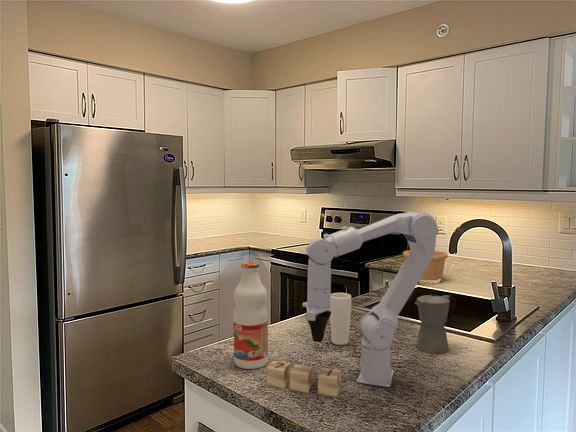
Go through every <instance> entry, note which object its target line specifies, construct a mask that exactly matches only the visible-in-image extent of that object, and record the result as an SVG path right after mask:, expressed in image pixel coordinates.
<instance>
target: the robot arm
mask: <svg viewBox="0 0 576 432" xmlns="http://www.w3.org/2000/svg"><path fill="white" fill-rule="evenodd" d="M392 233H395V234H396V233H397V234H403V237H405V239H406V241H407V243H408V247H409V250H411V252H410V254H409V256H408V257H407V259H406V260H405V261H404V262H403V263H402V266H401V267H400V269H399V270H398V272H397V274H396V275H395V277H394V279H393V280H392V282H391V283H390V285H389V287H388V289H387V290H386V292H385V294H384V295H383V296H382V298H381V299H380V302H378V303H377V304H376V305H374V306H372V308H371V309H370V311H369V312H368V313H366V314H365V315H364V316H362V317H361V318H360V321H359V325H358V326H359V330H360V333H362V335H363V336H362V339H361V346H360V349H361V351H360V352H361V354H360V355H361V356H360V357H361V358H360V361H361V362H360V363H361V364H360V373H359V375H358V377H357V381H356V382H357V383H358V384H359V383H360V384H365V385H371V386H379V387H385V388H390V387H391V384H392V380H393V375H394V369H391V345H392V343H393V341H394V339H395V331H396V330H397V328H398V327H399V326H398V324H399V323H398V321H399V319H398V317H399V314H400V312H401V311H402V309H403V308H404V307H405V304H406V303H407V301H408V300H409V298H410V296H411V294H412V293H413V291H414V290H415V288H416V287H417V285H418V284H419V283H418V282H419V280H420V278H421V277H422V275H423V273H424V272H425V270H426V268H427V267H428V265H429V264H430V262H431V260H432V259H433V257H434V255H435V251H436V245H437V244H436V242H437V235H438V234H439V226H438V224H437V221H436V219H435V218H434V217H433V215H431V214H430V213H426V212H418V211H417V212H416V211H414V210H409V211H405V212H403V213H397V214H394V215H391V216H388V217H385V218H383V219H381V220H379V221H376V222H373V223H371V224H368V225H365V226H364V227H362V228H359V229H357V228H355V227H353V226H350V227H348V226H346V225H345V226H342V227H341V230H338V231H336V232H333V233H331V234H330V233H329V234H328V233H325V234H323V238H322V237H316V238H313V239H310V241H309V242H308V245H307V248H305V250H306V254H307V256H308V257H309V258H308V267H307V292H306V293H307V294H306V295H307V300H306V301H305V302H302V307H303V308H304V307H305V308H306V312H305V319H306V321H307V322H308V325H309V328H310V331H311V332H310V333H311V337H312V341H313V342H314V343H315V342H316V343H322V342H323V340H324V336H325V333H326V328H327V324H328V321H329V320H330V315H331V311H330V309H331V304H330V298H331V294H332V292H331V290H332V288H331V285H332V269H331V266H332V265H331V264H332V260H333V258H337V257H340V256H342V255H343V256H344V255H345V254H348V253H351V252H353V251H356V250H359V249H360V248H361V247H362V244H363V243H364V242H367V241H371V240H373V239H377V238H379V237H383V236H386V235H389V234H392Z"/></svg>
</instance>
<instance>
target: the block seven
mask: <svg viewBox="0 0 576 432" xmlns="http://www.w3.org/2000/svg"><path fill="white" fill-rule="evenodd" d="M290 371H291V363H289V362H283V361H282V362H281V361H276V360H273V361H272V362H271V363H270V364H269V365H268V366H267V367H266V386H268V387H272V388H273V387H275V388H278V389H285V388H286V386H287V385H288V384H290Z"/></svg>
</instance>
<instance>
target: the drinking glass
mask: <svg viewBox="0 0 576 432" xmlns="http://www.w3.org/2000/svg"><path fill="white" fill-rule="evenodd" d="M330 304H331V309H330V310H329V311H331V315H330V317H329V320H330V330H331V331H330V332H331V333H330V334H331V342H332V344H334V345H336V346H344V345H347V344H349V342H350V341H349V340H350V339H349V338H350V328H351V317H352V316H351V315H352V295H351V294H349V293H345V292H334V293H331V298H330Z"/></svg>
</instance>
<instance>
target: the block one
mask: <svg viewBox="0 0 576 432" xmlns="http://www.w3.org/2000/svg"><path fill="white" fill-rule="evenodd" d="M341 389H342V370H339V369H331V368H326V367H323V368H322V369H321V370H320V371H319V373H318V375H317V394H318V395H323V396H330V397H338V395H339V392H340V391H341Z"/></svg>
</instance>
